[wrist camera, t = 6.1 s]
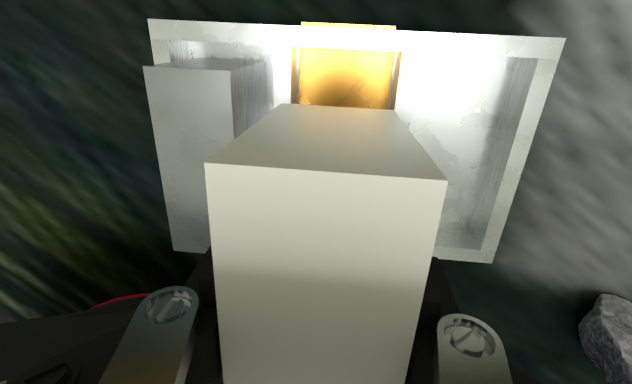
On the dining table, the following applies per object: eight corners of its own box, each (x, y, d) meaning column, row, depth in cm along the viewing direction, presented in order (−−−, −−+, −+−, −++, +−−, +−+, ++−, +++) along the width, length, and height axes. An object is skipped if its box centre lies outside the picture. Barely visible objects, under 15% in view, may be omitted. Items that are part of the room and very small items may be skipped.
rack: (537, 34, 19) (636, 32, 13) (477, 239, 26) (522, 312, 19) (173, 17, 21) (88, 8, 14) (197, 215, 27) (146, 275, 20)
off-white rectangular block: (393, 110, 12) (448, 180, 5) (364, 326, 16) (375, 517, 9) (281, 103, 12) (204, 162, 6) (280, 317, 16) (233, 497, 9)
